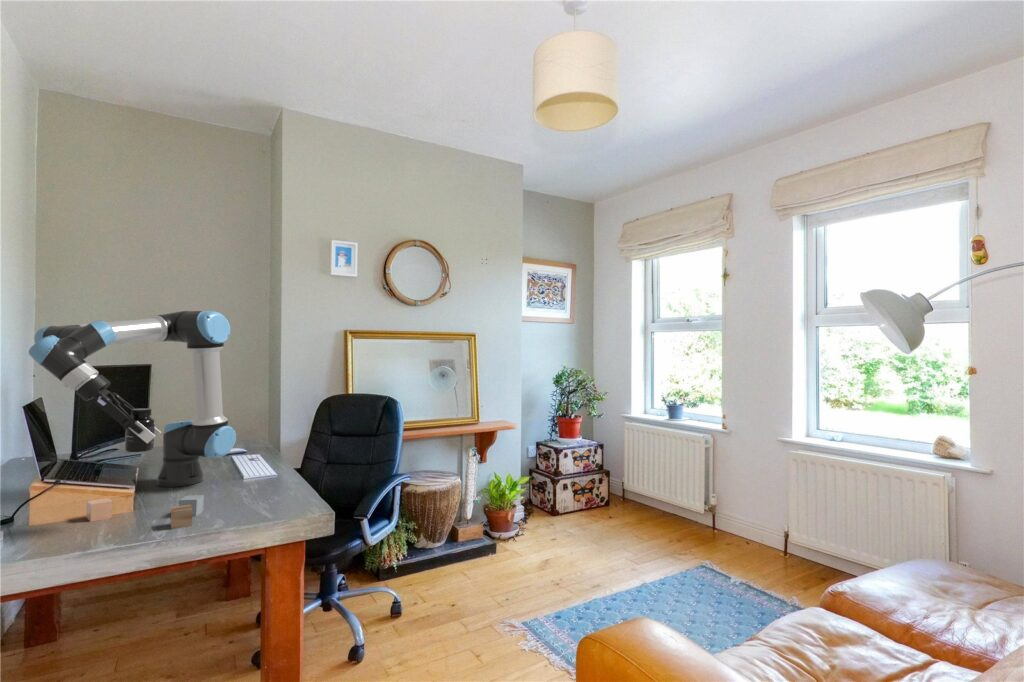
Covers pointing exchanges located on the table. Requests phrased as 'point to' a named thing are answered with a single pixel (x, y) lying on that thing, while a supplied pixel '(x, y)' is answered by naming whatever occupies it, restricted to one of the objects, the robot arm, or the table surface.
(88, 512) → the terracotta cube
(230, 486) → the table surface
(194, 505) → the slate grey cube
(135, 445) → the supplement bottle
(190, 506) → the walnut cube
